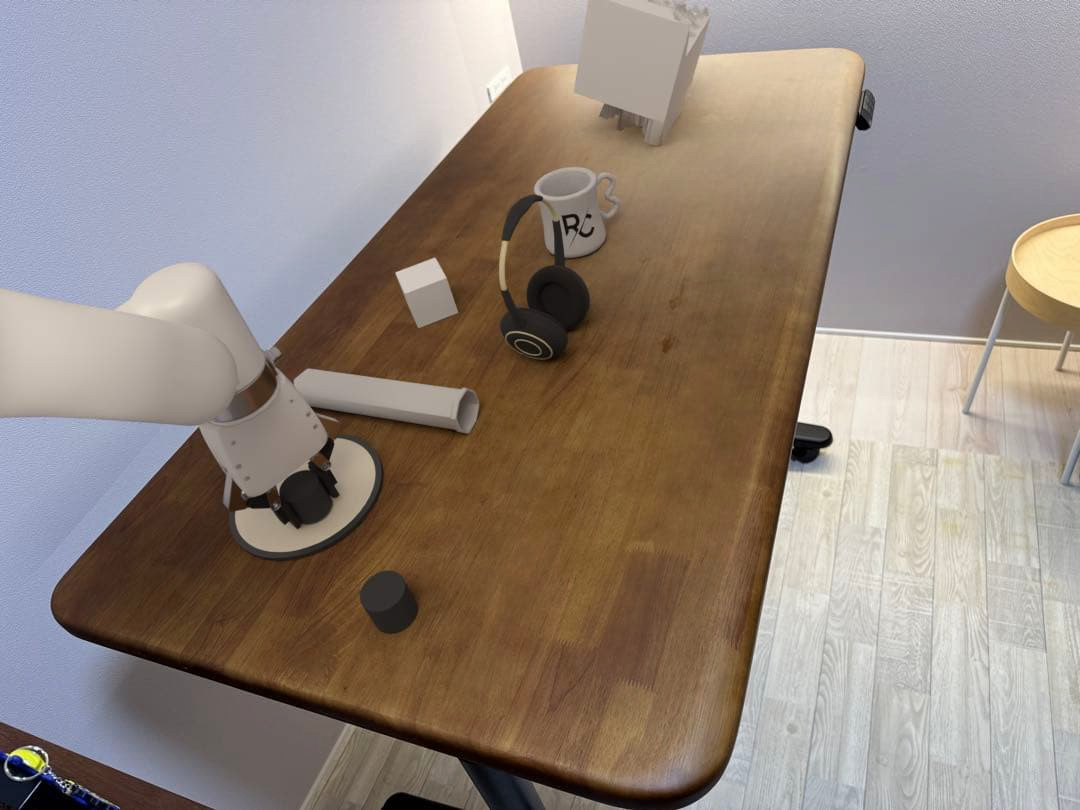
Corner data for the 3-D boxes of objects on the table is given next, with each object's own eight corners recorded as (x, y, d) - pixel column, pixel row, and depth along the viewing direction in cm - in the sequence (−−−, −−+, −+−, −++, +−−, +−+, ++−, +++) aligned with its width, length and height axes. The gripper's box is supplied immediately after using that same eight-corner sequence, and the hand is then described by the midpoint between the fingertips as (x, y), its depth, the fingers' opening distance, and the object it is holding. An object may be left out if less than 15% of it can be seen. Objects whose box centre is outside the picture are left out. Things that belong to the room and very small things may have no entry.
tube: (278, 394, 97) (450, 422, 87) (295, 357, 99) (466, 380, 89) (302, 413, 101) (469, 441, 91) (318, 377, 103) (483, 401, 93)
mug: (562, 268, 112) (549, 207, 105) (536, 241, 118) (522, 181, 111) (637, 236, 114) (629, 173, 107) (608, 211, 120) (599, 151, 113)
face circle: (282, 590, 80) (279, 587, 79) (204, 509, 91) (201, 505, 90) (414, 479, 87) (412, 475, 87) (328, 416, 98) (326, 413, 98)
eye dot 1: (307, 531, 84) (292, 508, 81) (286, 512, 86) (271, 489, 84) (340, 504, 86) (326, 481, 83) (318, 486, 88) (304, 463, 85)
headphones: (497, 373, 98) (454, 237, 84) (546, 302, 106) (515, 168, 93) (558, 384, 94) (524, 244, 80) (604, 309, 103) (580, 171, 89)
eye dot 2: (391, 642, 73) (377, 620, 70) (365, 616, 76) (350, 594, 73) (427, 609, 75) (414, 586, 72) (399, 585, 77) (386, 562, 75)
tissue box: (604, 88, 147) (632, -54, 127) (684, 115, 144) (725, -26, 124) (564, 142, 134) (588, -6, 115) (651, 172, 132) (690, 26, 112)
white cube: (458, 312, 109) (446, 277, 105) (418, 328, 108) (404, 293, 104) (447, 291, 113) (435, 257, 109) (408, 306, 112) (394, 272, 108)
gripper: (288, 324, 79) (353, 445, 91) (139, 425, 72) (231, 541, 84) (328, 349, 74) (390, 472, 87) (173, 460, 67) (265, 576, 80)
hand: (311, 505), depth 86 cm, fingers closed on eye dot 1, 4 cm apart
